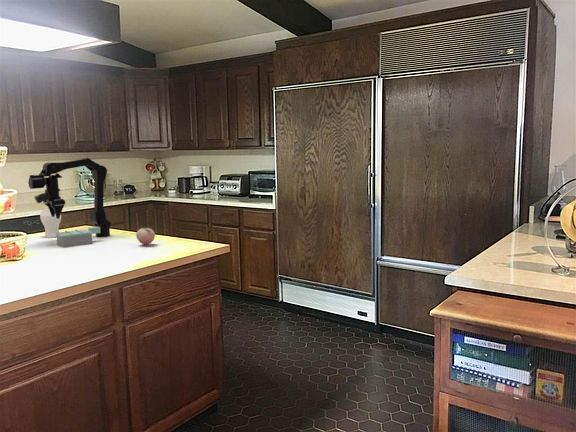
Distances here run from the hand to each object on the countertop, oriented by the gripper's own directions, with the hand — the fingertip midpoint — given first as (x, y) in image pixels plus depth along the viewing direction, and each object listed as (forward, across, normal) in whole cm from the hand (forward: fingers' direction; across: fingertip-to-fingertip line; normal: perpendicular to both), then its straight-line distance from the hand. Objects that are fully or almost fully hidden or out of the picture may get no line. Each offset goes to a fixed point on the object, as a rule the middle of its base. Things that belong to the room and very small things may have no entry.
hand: (55, 217), depth 246 cm
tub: (+14, +11, +5) cm, 18 cm away
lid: (+9, +11, +8) cm, 16 cm away
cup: (+14, -26, +4) cm, 30 cm away
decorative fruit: (+15, +35, +33) cm, 50 cm away
